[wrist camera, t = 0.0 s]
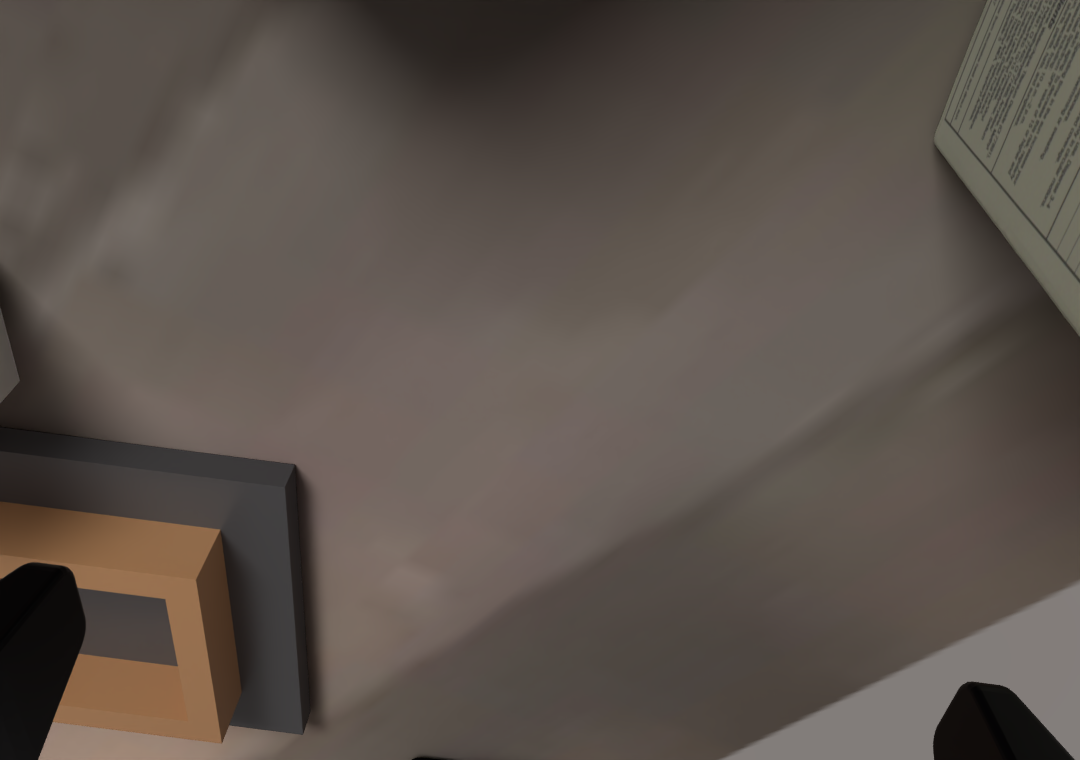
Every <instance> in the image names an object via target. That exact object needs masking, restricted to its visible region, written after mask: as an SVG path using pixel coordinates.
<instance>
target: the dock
mask: <svg viewBox="0 0 1080 760" xmlns="http://www.w3.org/2000/svg"><path fill="white" fill-rule="evenodd" d="M30 562H39V563H47V564H54V565H62V566H66V567H68V568H69V569H70V570H71V571H72V572H73V574H74V576H75V580H76V584H77V587H78V591H79V595H80V599H81V602H82V606H83V610H84V614H85V618H86V632H85V637H84V641H83V644H82V647H81V649H80V652H79V654H78V657H77V660H76V662H75V665H74V667H73V670H72V673H71V675H70V678H69V680H68V683H67V686H66V688H65V691H64V693H63V696H62V699H61V701H60V704H59V706H58V709H57V712H56V714H55V717H54V719H53V722H58V723H66V724H73V725H81V726H89V727H97V728H105V729H112V730H120V731H128V732H136V733H144V734H151V735H159V736H167V737H175V738H183V739H191V740H198V741H206V742H214V743H222V742H223V739H224V737H225V734H226V732H227V729H228V726H229V725H231V726H239V727H246V728H254V729H262V730H270V731H278V732H286V733H293V734H301V735H303V733H304V730H305V727H306V723H307V720H308V717H309V714H310V696H309V680H308V665H307V649H306V633H305V618H304V602H303V587H302V571H301V555H300V540H299V524H298V509H297V493H296V477H295V465H293V464H285V463H277V462H270V461H262V460H254V459H246V458H238V457H230V456H222V455H215V454H207V453H199V452H191V451H183V450H175V449H168V448H160V447H152V446H144V445H136V444H128V443H120V442H113V441H105V440H97V439H89V438H81V437H73V436H65V435H58V434H50V433H42V432H34V431H26V430H18V429H11V428H3V427H0V579H2V578H3V577H5V576H6V575H8V574H9V573H11V572H12V571H14V570H15V569H17V568H18V567H20V566H22V565H24V564H27V563H30Z"/></svg>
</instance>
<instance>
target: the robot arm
mask: <svg viewBox="0 0 1080 760" xmlns="http://www.w3.org/2000/svg"><path fill="white" fill-rule="evenodd" d="M85 632H86V618H85V614H84V610H83V606H82V602H81V599H80V595H79V591H78V587H77V584H76V580H75V576H74V574H73V572H72V571H71V570H70V569H69V568H68V567H66V566H62V565H54V564H47V563H39V562H30V563H27V564H24V565H22V566H20V567H18V568H17V569H15V570H14V571H12V572H11V573H9V574H8V575H6V576H5V577H3V578H2V579H0V760H38V758H39V756H40V753H41V751H42V748H43V745H44V743H45V740H46V738H47V735H48V732H49V730H50V727H51V725H52V722H53V719H54V717H55V714H56V712H57V709H58V706H59V704H60V701H61V699H62V696H63V693H64V691H65V688H66V686H67V683H68V680H69V678H70V675H71V673H72V670H73V667H74V665H75V662H76V660H77V657H78V654H79V652H80V649H81V647H82V644H83V641H84V637H85ZM933 751H934V760H1074V758H1073V757H1072V756H1071V755H1070V754H1069V753H1068V752H1067V751H1066V750H1065V748H1064V747H1063V746H1062V745H1061V744H1060V743H1059V742H1058V741H1057V740H1056V739H1055V737H1054V736H1053V735H1052V734H1051V733H1050V732H1049V731H1048V730H1047V729H1046V727H1045V726H1044V725H1043V724H1042V723H1041V722H1040V721H1039V720H1038V719H1037V717H1036V716H1035V715H1034V714H1033V713H1032V712H1031V711H1030V710H1029V709H1028V707H1027V706H1026V705H1025V704H1024V703H1023V702H1022V701H1021V700H1020V699H1019V698H1018V697H1017V695H1016V694H1015V693H1013V692H1012V691H1011V690H1010V689H1008V688H1006V687H1004V686H1000V685H994V684H986V683H979V682H967V683H965V684H963V685H962V686H961V687H960V688H959V690H958V691H957V693H956V695H955V697H954V698H953V700H952V702H951V703H950V705H949V707H948V709H947V710H946V712H945V714H944V716H943V717H942V719H941V721H940V722H939V724H938V726H937V728H936V731H935V735H934V741H933ZM412 760H436V759H428V758H415V759H412Z"/></svg>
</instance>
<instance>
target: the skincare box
mask: <svg viewBox="0 0 1080 760" xmlns="http://www.w3.org/2000/svg"><path fill="white" fill-rule="evenodd" d="M934 144H935V146H936V147H937V148H938V150H939V151H940V152H941V153H942V155H943V156H944V157H945V159H946V160H947V162H948V163H949V164H950V166H951V167H952V168H953V169H954V171H955V172H956V174H957V175H958V177H959V178H960V179H961V180H962V181H963V183H964V184H965V185H966V187H967V188H968V189H969V191H970V192H971V193H972V195H973V196H974V197H975V199H976V200H977V201H978V203H979V204H980V205H981V207H982V208H983V209H984V211H985V212H986V213H987V215H988V216H989V217H990V219H991V220H992V221H993V223H994V224H995V225H996V227H997V228H998V229H999V230H1000V231H1001V233H1002V234H1003V236H1004V237H1005V239H1006V240H1007V241H1008V243H1009V244H1010V245H1011V247H1012V248H1013V249H1014V251H1015V252H1016V253H1017V254H1018V256H1019V257H1020V258H1021V260H1022V261H1023V262H1024V264H1025V265H1026V266H1027V268H1028V269H1029V270H1030V272H1031V273H1032V274H1033V275H1034V277H1035V278H1036V279H1037V281H1038V282H1039V283H1040V285H1041V286H1042V287H1043V289H1044V290H1045V292H1046V293H1047V294H1048V296H1049V297H1050V298H1051V300H1052V301H1053V302H1054V304H1055V305H1056V307H1057V308H1058V309H1059V310H1060V312H1061V313H1062V315H1063V316H1064V318H1065V319H1066V320H1067V321H1068V322H1069V324H1070V325H1071V326H1072V328H1073V329H1074V330H1075V332H1076V333H1077V334H1078V336H1079V337H1080V0H987V3H986V5H985V7H984V10H983V12H982V15H981V17H980V20H979V22H978V24H977V27H976V29H975V32H974V34H973V37H972V39H971V42H970V44H969V47H968V50H967V52H966V55H965V57H964V60H963V62H962V65H961V67H960V70H959V72H958V75H957V77H956V80H955V83H954V85H953V88H952V91H951V93H950V96H949V99H948V101H947V104H946V106H945V109H944V112H943V114H942V117H941V120H940V122H939V125H938V127H937V130H936V132H935V136H934Z"/></svg>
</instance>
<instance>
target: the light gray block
mask: <svg viewBox="0 0 1080 760" xmlns="http://www.w3.org/2000/svg"><path fill="white" fill-rule="evenodd" d="M19 382H20V379H19V375H18V372H17V368H16V364H15V360H14V357H13V353H12V349H11V345H10V342H9V338H8V334H7V331H6V327H5V323H4V319H3V316H2V312H1V308H0V403H1V402H2V401H3V400H4V399H5V397H6V396H7V395H8V394H9V393H10V392H11V391H12V390H13V388H14V387H15V386H16V385H17V384H18V383H19Z"/></svg>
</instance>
